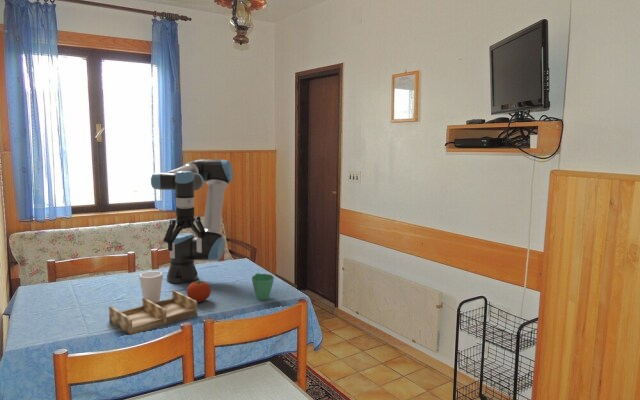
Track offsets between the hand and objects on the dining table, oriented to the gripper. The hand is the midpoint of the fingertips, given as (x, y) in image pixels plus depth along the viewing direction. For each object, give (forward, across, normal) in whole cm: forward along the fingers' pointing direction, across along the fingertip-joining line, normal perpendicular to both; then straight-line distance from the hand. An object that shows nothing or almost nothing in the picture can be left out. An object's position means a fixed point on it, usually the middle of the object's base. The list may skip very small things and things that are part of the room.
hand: (186, 255), depth 199 cm
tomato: (+21, +4, -4) cm, 22 cm away
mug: (+21, +27, -19) cm, 39 cm away
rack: (+21, -20, -6) cm, 30 cm away
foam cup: (+21, -12, +9) cm, 26 cm away
